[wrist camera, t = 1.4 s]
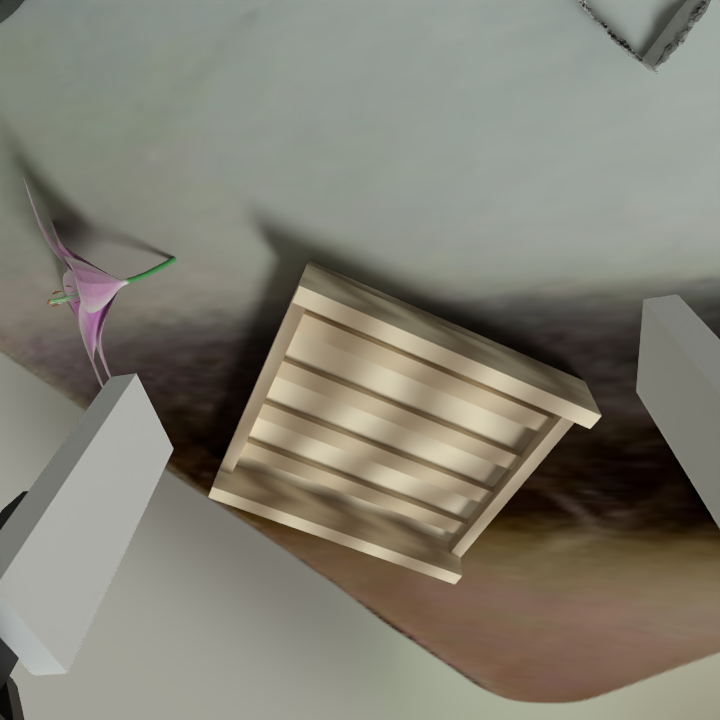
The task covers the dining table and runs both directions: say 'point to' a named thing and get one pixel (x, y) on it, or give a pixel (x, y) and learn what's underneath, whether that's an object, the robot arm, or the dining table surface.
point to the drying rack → (391, 426)
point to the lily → (88, 291)
